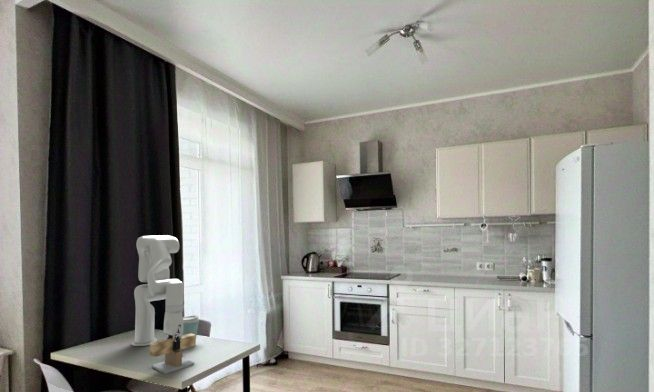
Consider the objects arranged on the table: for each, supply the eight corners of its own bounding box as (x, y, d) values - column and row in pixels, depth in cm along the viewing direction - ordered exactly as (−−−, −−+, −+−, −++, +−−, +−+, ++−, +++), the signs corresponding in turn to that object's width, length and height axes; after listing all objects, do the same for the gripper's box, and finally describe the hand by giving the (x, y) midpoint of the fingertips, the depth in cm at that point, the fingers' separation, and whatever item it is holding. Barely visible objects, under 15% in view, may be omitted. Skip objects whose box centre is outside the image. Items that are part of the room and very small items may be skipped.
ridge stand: (151, 367, 174) (152, 351, 174) (180, 358, 184) (181, 343, 185) (164, 373, 166) (165, 357, 166) (194, 364, 176) (194, 349, 177)
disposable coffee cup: (177, 349, 197) (178, 320, 198) (177, 343, 207) (178, 315, 208) (199, 347, 201) (199, 318, 202) (198, 341, 211) (198, 313, 212)
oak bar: (153, 357, 167) (154, 345, 167) (149, 355, 169) (149, 343, 170) (195, 345, 182) (195, 334, 182) (191, 343, 184) (191, 333, 185)
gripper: (157, 307, 179) (156, 347, 178) (175, 312, 168) (175, 355, 167) (172, 304, 185) (172, 343, 184) (191, 309, 174) (190, 350, 173)
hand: (173, 348), depth 176 cm, fingers open, 4 cm apart
